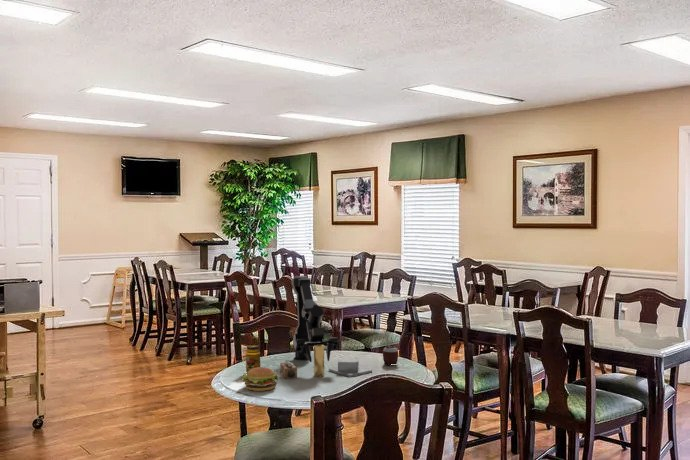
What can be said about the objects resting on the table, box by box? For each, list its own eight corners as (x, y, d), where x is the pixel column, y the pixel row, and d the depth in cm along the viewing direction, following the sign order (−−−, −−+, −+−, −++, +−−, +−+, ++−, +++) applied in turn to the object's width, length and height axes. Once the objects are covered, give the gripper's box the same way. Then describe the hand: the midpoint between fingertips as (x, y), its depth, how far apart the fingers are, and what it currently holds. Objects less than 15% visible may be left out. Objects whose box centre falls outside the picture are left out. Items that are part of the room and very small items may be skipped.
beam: (280, 372, 282) (280, 362, 282) (291, 371, 283) (291, 362, 283) (285, 379, 270) (285, 369, 270) (297, 378, 272) (297, 368, 272)
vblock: (328, 371, 284) (328, 359, 284) (350, 366, 293) (350, 355, 293) (350, 377, 274) (350, 365, 274) (372, 372, 282) (372, 360, 282)
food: (234, 388, 257) (234, 368, 256) (263, 381, 266) (263, 362, 266) (255, 395, 247) (255, 374, 247) (284, 388, 257) (284, 368, 256)
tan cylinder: (312, 376, 275) (312, 346, 274) (316, 374, 279) (316, 344, 278) (321, 377, 273) (321, 347, 273) (325, 375, 277) (326, 345, 277)
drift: (284, 363, 281) (284, 359, 281) (288, 363, 281) (288, 359, 281) (288, 368, 272) (288, 364, 272) (292, 368, 273) (292, 364, 273)
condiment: (246, 376, 275) (246, 348, 275) (243, 371, 283) (243, 344, 283) (263, 375, 277) (263, 347, 277) (259, 370, 285) (259, 343, 285)
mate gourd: (395, 367, 292) (396, 334, 292) (379, 365, 295) (379, 333, 294) (399, 363, 299) (400, 331, 299) (383, 362, 302) (383, 330, 301)
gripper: (295, 320, 276) (301, 351, 266) (338, 318, 282) (344, 349, 271) (292, 335, 284) (297, 366, 274) (333, 333, 289) (339, 363, 279)
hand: (319, 361), depth 274 cm, fingers open, 7 cm apart
